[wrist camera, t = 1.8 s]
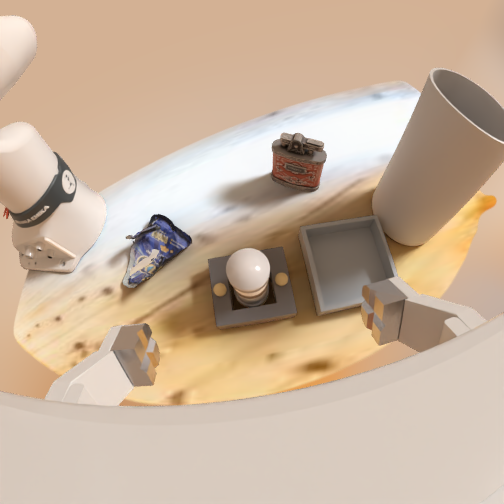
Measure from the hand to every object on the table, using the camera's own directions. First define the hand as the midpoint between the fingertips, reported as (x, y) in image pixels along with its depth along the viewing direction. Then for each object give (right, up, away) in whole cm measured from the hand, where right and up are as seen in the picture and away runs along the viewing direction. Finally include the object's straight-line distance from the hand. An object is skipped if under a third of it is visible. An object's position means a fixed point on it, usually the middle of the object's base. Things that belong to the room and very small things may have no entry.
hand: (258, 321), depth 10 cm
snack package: (-15, +2, +32) cm, 35 cm away
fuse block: (0, -3, +28) cm, 29 cm away
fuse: (0, -3, +28) cm, 29 cm away
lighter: (+7, +14, +35) cm, 39 cm away
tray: (+13, 0, +29) cm, 32 cm away
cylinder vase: (+25, +9, +32) cm, 42 cm away
